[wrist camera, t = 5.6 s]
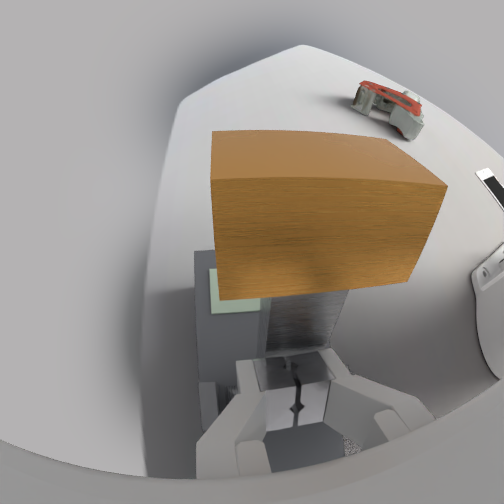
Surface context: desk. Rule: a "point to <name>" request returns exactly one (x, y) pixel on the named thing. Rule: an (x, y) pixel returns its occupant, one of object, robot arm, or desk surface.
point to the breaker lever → (313, 226)
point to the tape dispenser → (391, 107)
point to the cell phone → (492, 185)
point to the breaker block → (224, 374)
